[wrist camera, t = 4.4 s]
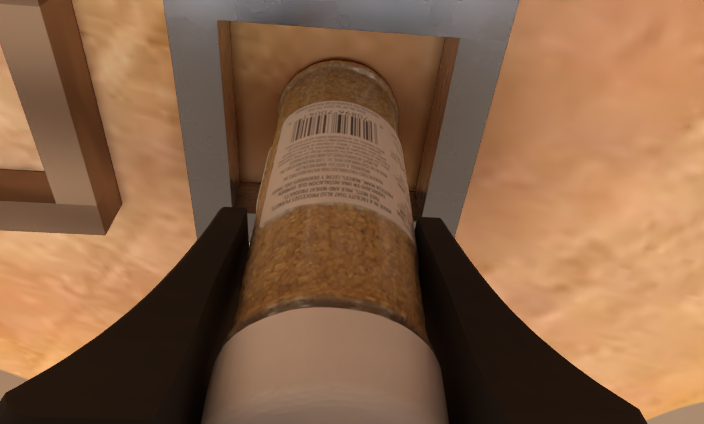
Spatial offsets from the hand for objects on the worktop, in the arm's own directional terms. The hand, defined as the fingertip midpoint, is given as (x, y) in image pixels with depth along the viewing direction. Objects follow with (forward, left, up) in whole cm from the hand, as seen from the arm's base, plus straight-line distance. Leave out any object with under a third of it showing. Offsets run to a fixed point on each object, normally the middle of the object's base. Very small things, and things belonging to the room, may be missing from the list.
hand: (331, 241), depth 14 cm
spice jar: (0, 0, -8) cm, 8 cm away
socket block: (0, 0, -7) cm, 7 cm away
